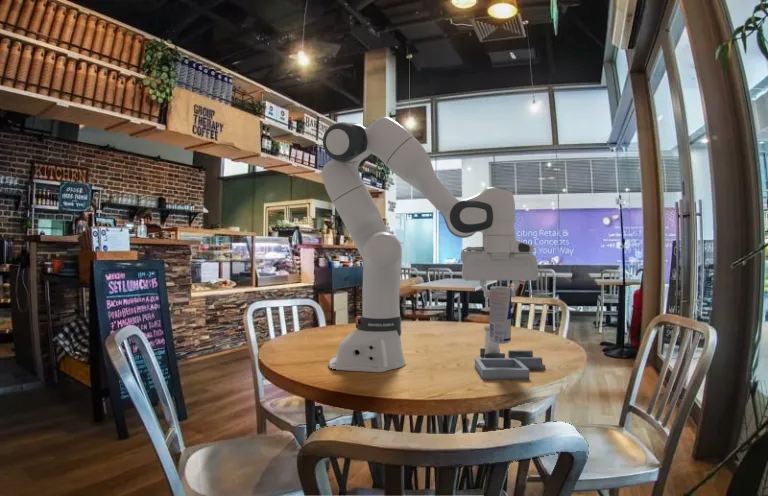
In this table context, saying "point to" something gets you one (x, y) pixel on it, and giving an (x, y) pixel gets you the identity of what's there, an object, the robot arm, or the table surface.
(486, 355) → the clip
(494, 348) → the cylinder
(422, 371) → the table surface
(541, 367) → the grey stepped base
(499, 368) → the tray
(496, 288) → the beverage can
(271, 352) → the table surface
